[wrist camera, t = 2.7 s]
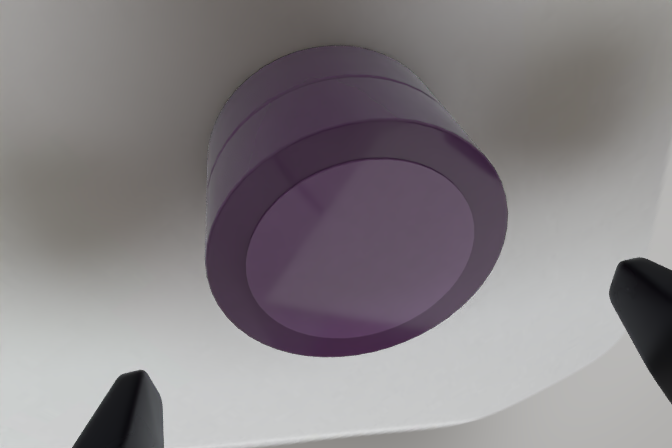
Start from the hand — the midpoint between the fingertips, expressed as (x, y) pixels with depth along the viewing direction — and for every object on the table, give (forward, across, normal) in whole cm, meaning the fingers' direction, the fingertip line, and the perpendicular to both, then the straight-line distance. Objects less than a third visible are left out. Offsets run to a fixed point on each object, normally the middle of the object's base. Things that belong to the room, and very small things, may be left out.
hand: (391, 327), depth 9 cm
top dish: (+4, 0, 0) cm, 4 cm away
